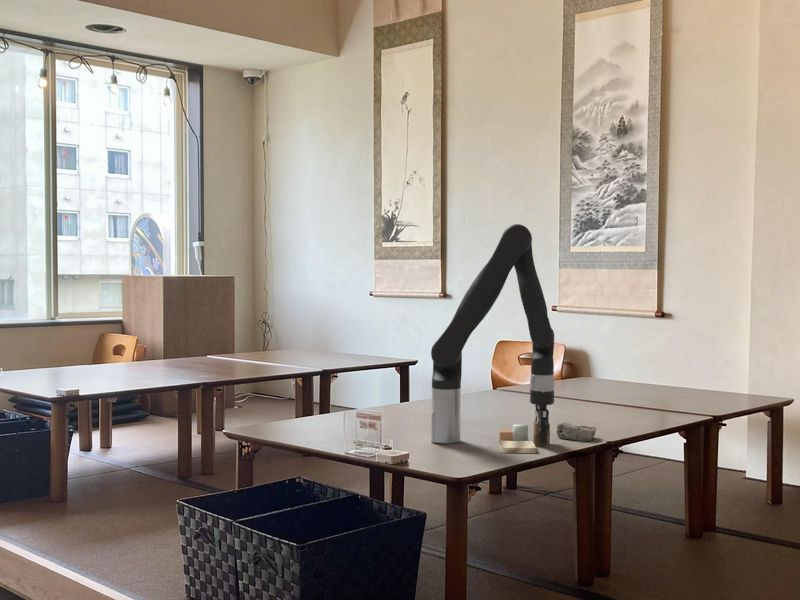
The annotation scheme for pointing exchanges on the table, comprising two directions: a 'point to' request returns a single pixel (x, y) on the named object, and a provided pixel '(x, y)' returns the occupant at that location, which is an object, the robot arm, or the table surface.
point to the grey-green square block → (520, 432)
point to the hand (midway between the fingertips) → (541, 440)
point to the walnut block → (536, 435)
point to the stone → (575, 432)
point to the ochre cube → (505, 435)
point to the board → (518, 447)
